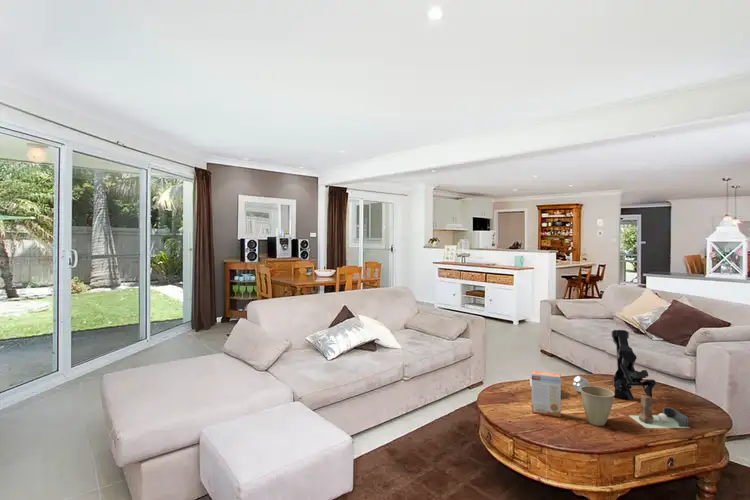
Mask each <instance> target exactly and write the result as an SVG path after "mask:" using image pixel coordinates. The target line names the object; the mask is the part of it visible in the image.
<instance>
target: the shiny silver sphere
mask: <svg viewBox="0 0 750 500" xmlns="http://www.w3.org/2000/svg"><path fill="white" fill-rule="evenodd" d="M583 386H590V382H589V381H588V379H586V378H584V377H582V375H576V376H575V377H574V378H573V382H572V387H573V389H575V391H576V392H578V393H580V394H581V387H583Z"/></svg>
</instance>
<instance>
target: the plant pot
mask: <svg viewBox="0 0 750 500" xmlns="http://www.w3.org/2000/svg"><path fill="white" fill-rule="evenodd" d="M580 395H581V401H582V406H583V410H584V414H585V417H586V419H587V422H588V423H589V424H591V425H593V426H598V427H601V426H605V424H606V423H607V421H608V418H609V416H610V414H611V410H612V408H613V404H614V400H615V397H614V396H615V391H612V390H610V389H608V388H605V387H601V386H594V385H593V386H592V385H589V386H583V387H581V393H580Z"/></svg>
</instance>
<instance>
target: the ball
mask: <svg viewBox="0 0 750 500" xmlns="http://www.w3.org/2000/svg"><path fill="white" fill-rule="evenodd" d="M657 415H658V419H659V420H660V421H662V422H665V421H667V419H668V418H667V416H666V415H665V414H664V413H663V412H661V413H658V414H657Z"/></svg>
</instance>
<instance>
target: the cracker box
mask: <svg viewBox="0 0 750 500" xmlns="http://www.w3.org/2000/svg"><path fill="white" fill-rule="evenodd" d="M561 377H562V376H561V374H559V373H552V372H544V371H543V372H542V371H538V370H537V371H534V370H533V371H532V373H531V378H532V387H531V413H532V414H539V415H545V416H551V417H558V418H560V417H561V415H562V413H561V412H562V411H561V410H562V409H561V408H562V407H561V406H562V405H561V404H562V403H561V400H562V399H561V398H562V394H561V391H562V390H561V388H562V386H561V385H562V384H561Z"/></svg>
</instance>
